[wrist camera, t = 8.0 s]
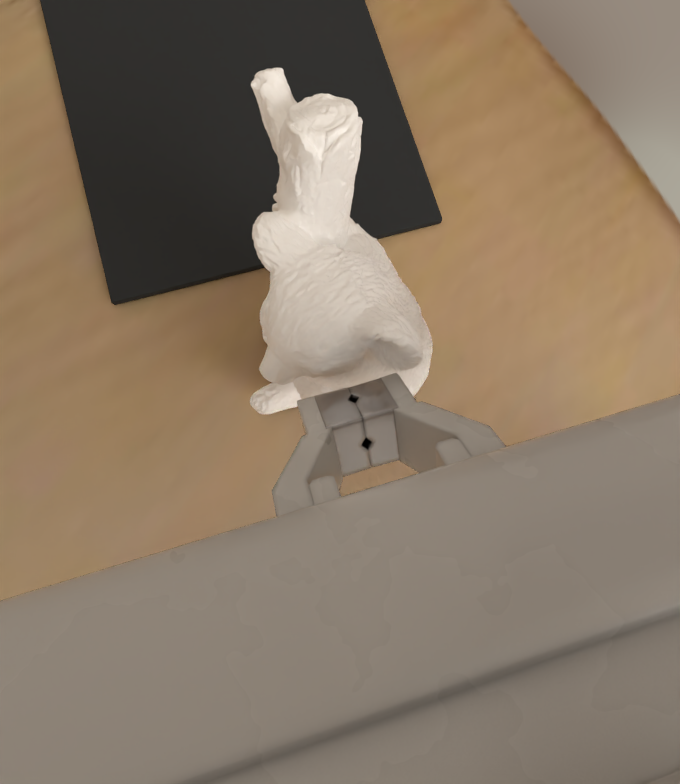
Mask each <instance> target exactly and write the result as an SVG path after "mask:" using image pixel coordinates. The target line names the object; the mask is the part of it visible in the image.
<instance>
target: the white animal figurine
mask: <svg viewBox="0 0 680 784" xmlns="http://www.w3.org/2000/svg"><path fill="white" fill-rule="evenodd" d="M254 77H255V78H254V80H253V81H252V82H251V87H252V89H253V92H254V94H255V96H256V99H257V103H258V105H259V109H260V112H261V116H262V121H263V123H264V127H265V129H266V131H267V133H268V136H269V138H270V141H271V144H272V148H273V150H274V152H275V153H276V155H277V157H278V163H279V166H280V169H279V171H280V172H279V173H280V176H279V180H278V183H277V193H275V194H274V195H273V198H274V200H275V201H276V202H277V203H275V204H273V206H272V211H273V212H263V213H261V215H259V216H258V217H257V219H256V220H255V223H254V224H253V229H252V239H253V241H254V247H255V249H256V252H257V255H258V258H259V259H260V260H261V263H262V264H263V265H264V267H265V268H266V269H267V270H268V271H270V290H269V293H268V295H267V297H266V299H265V300H264V302H263V304H262V306H261V310H260V324H261V326H262V333H263V334H262V335H263V339H264V341H265V342H266V343H267V344H268V346H267V349H266V352H265V356H264V358H263V360H262V362H261V364H260V367H259V370H260V372H261V374H262V376H263V377H264V378H265V379H267V380H268V381H270V382H272V383H271V384H269V385H267V386H264V387H262V388H261V389H259V390H258V391H256V392H254V393H253V395H252V396H251V398H250V404H251V406H252V407H253V408H254V409H255V410H256V411H257V412H258V413H260V414H272V413H275V412H278V411H281V410H285V409H289V408H294V407H297V406H298V405H297V401H298V400H301V399H305V398H308V397H312V396H313V397H314V396H316V395H320V394H323V393H327V392H331V391H335V390H339V389H343V388H348V387H351V386H355V385H358V384H362V383H365V382H369V381H372V380H375V379H379V378H381V377H384V376H387V375H390V374H393V373H397V374H399V376H400V377H401V379H402V380H403V382H404V383H405V385H406V386H407V388H408V389H409V391H410V392H411V394H412V395H413V396H414V395H415V394H416V393H417V392H418V391H419V389H420V387H421V386H422V385H423V383H424V381H425V379H426V378H427V376H428V374H429V372H428V371H429V370H430V368H429V366H430V359H431V357H432V352H433V349H432V346H433V343H432V338H431V334H430V333H429V332H430V331H429V328H428V327H427V325H426V322H425V320H424V319H423V316H421V308H420V306H419V305H418V302H416V300H415V296H412V295H411V291H410V290H409V289H408V288H407V286H406V285H405V284H404V283H403V282H402V280H401V278H400V277H399V276H398V273H397V271H396V270H395V268H394V267H393V264H392V263H391V260H390V259H389V258H388V257H387V254H386V252H385V249H384V248H383V247H382V246H381V245H380V243H379V242H378V241H377V239H376V238H373V237H371V236H370V235H369V234H368V233H366V232H365V231H364V229H362V228H361V227H360V225H359V224H355V222H354V221H353V220H352V219H351V218H350V211H351V205H352V199H353V193H354V181H355V175H356V172H357V167H358V162H359V159H360V152H361V133H362V124H363V121H362V118H361V117H358V111H357V107H356V106H355V105H354V103H353V102H352V101H351V100H349V99H346V98H341V97H336V96H333V95H331V94H323V93H320V94H316V95H314V96H312V97H306V98H304V99H303V100H302V101H300V102H299V103H297V102H296V101H295V99H294V98H293V95H292V93H291V90H290V87H289V85H288V83H287V80H286V78H285V75H284V70H283V69H282V68H273V69H265V70H262V71H259V72H257V73H256V74H255V76H254Z"/></svg>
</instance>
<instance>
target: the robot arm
mask: <svg viewBox="0 0 680 784" xmlns="http://www.w3.org/2000/svg"><path fill="white" fill-rule="evenodd" d="M297 405H298V409H299V413H300V417H301V420H302V424H303V428H304V432H305V435H303V436H302V437H301V439H300V441H299V442H298V444H297V446H296V448H295V450H294V451H293V453H292V455H291V457H290V459H289V460H288V462H287V464H286V466H285V468H284V469H283V471H282V473H281V475H280V477H279V478H278V480H277V482H276V484H275V486H274V487H273V489H272V495H273V500H274V505H275V511H276V516H277V517H273V518H270V519H267V520H263V521H260V522H257V523H254V524H250V525H247V526H244V527H240V528H237V529H234V530H231V531H227V532H224V533H221V534H217V535H214V536H211V537H208V538H204V539H201V540H198V541H194V542H191V543H188V544H185V545H181V546H178V547H175V548H171V549H168V550H165V551H162V552H158V553H155V554H152V555H148V556H145V557H142V558H139V559H135V560H132V561H129V562H125V563H122V564H119V565H116V566H112V567H109V568H106V569H102V570H99V571H96V572H93V573H89V574H86V575H83V576H79V577H76V578H73V579H70V580H66V581H63V582H60V583H56V584H53V585H50V586H47V587H43V588H40V589H37V590H33V591H30V592H27V593H24V594H20V595H17V596H14V597H10V598H7V599H4V600H1V601H0V784H680V394H678V395H675V396H671V397H668V398H665V399H662V400H658V401H655V402H652V403H648V404H645V405H642V406H638V407H635V408H632V409H629V410H625V411H622V412H619V413H615V414H612V415H609V416H605V417H602V418H599V419H596V420H592V421H589V422H586V423H582V424H579V425H576V426H572V427H569V428H566V429H563V430H559V431H556V432H553V433H549V434H546V435H543V436H540V437H536V438H533V439H530V440H526V441H523V442H520V443H517V444H513V445H510V446H507V447H506V446H505V445H504V443H503V442H502V441H501V440H500V438H499V437H498V436H497V435H496V433H495V432H494V431H493V430H492V428H491V427H490V426H488V425H485V424H483V423H480V422H477V421H474V420H472V419H469V418H466V417H463V416H461V415H458V414H455V413H452V412H450V411H447V410H444V409H441V408H439V407H436V406H433V405H430V404H428V403H425V402H422V401H421V402H418V403H417V401H416V400H415V398H414V397H413V395H412V394H411V392H410V391H409V389H408V388H407V386H406V385H405V383H404V382H403V380H402V379H401V377H400V376H399V374H397V373H393V374H390V375H387V376H384V377H381V378H379V379H375V380H372V381H369V382H365V383H362V384H358V385H355V386H351V387H348V388H343V389H339V390H335V391H331V392H327V393H323V394H320V395H316V396H314V397H313V396H312V397H308V398H305V399H301V400H298V401H297ZM397 460H400V461H401V462H402V463H404V464H406V465H407V466H409V467H411V468H412V469H414V470H415V471H417V472H419V473H418V474H415V475H411V476H408V477H405V478H402V479H398V480H395V481H392V482H388V483H385V484H382V485H379V486H375V487H372V488H369V489H365V490H362V491H359V492H356V493H352V494H349V495H346V496H342V497H341V495H340V492H339V490H340V487H341V484H342V481H343V477H344V476H347V475H350V474H353V473H356V472H359V471H362V470H365V469H368V468H372V467H375V466H379V465H383V464H386V463H390V462H394V461H397Z"/></svg>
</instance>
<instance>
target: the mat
mask: <svg viewBox="0 0 680 784" xmlns="http://www.w3.org/2000/svg"><path fill="white" fill-rule="evenodd" d="M40 1H41V6H42V10H43V14H44V18H45V23H46V27H47V31H48V35H49V39H50V44H51V48H52V52H53V56H54V61H55V65H56V69H57V73H58V78H59V82H60V86H61V90H62V95H63V99H64V103H65V107H66V112H67V116H68V120H69V124H70V128H71V133H72V137H73V141H74V145H75V150H76V154H77V158H78V162H79V167H80V171H81V175H82V179H83V184H84V188H85V192H86V196H87V200H88V205H89V209H90V213H91V217H92V222H93V226H94V230H95V234H96V239H97V243H98V247H99V251H100V256H101V260H102V264H103V268H104V273H105V277H106V281H107V285H108V289H109V294H110V298H111V302H112V303H113V304H114V305H117V304H121V303H125V302H128V301H132V300H136V299H140V298H144V297H148V296H152V295H156V294H160V293H164V292H168V291H172V290H176V289H180V288H184V287H188V286H192V285H196V284H200V283H204V282H208V281H212V280H216V279H220V278H224V277H228V276H232V275H236V274H240V273H244V272H248V271H252V270H256V269H260V268H264V265H263V264H262V263H261V260H260V259H259V258H258V255H257V252H256V249H255V247H254V241H253V239H252V229H253V224H254V223H255V220H256V219H257V217H258V216H259V215H261V213H263V212H273V211H272V206H273V204H275V203H277V202H276V201H275V200H274V198H273V195H274V194H275V193H277V183H278V180H279V176H280V173H279V172H280V171H279V169H280V166H279V163H278V157H277V155H276V153H275V152H274V150H273V148H272V144H271V141H270V138H269V136H268V133H267V131H266V129H265V127H264V123H263V121H262V116H261V112H260V109H259V105H258V103H257V99H256V96H255V94H254V92H253V89H252V87H251V82H252V81H253V80H254V78H255V77H254V76H255V74H256V73H257V72H259V71H262V70H265V69H273V68H282V69H283V70H284V75H285V78H286V80H287V83H288V85H289V87H290V90H291V93H292V95H293V98H294V99H295V101H296V102H297V103H299V102H300V101H302V100H303V99H304V98H306V97H312V96H314V95H316V94H320V93H323V94H331V95H333V96H336V97H341V98H346V99H349V100H351V101H352V102H353V103H354V105H355V106H356V107H357V111H358V117H361V118H362V121H363V124H362V133H361V152H360V159H359V162H358V167H357V172H356V175H355V181H354V193H353V199H352V205H351V211H350V218H351V219H352V220H353V221H354V222H355V224H359V225H360V227H361V228H362V229H364V231H365V232H366V233H368V234H369V235H370V236H371V237H373V238H376V239H379V238H383V237H387V236H391V235H395V234H399V233H403V232H407V231H411V230H415V229H419V228H423V227H427V226H431V225H435V224H439V223H441V221H442V217H441V214H440V211H439V208H438V206H437V203H436V200H435V197H434V194H433V191H432V189H431V186H430V183H429V180H428V177H427V175H426V172H425V169H424V166H423V163H422V161H421V158H420V155H419V152H418V149H417V146H416V144H415V141H414V138H413V135H412V132H411V130H410V127H409V124H408V121H407V118H406V116H405V113H404V110H403V107H402V104H401V101H400V99H399V96H398V93H397V90H396V87H395V85H394V82H393V79H392V76H391V73H390V71H389V68H388V65H387V62H386V59H385V56H384V54H383V51H382V48H381V45H380V42H379V40H378V37H377V34H376V31H375V28H374V25H373V23H372V20H371V17H370V14H369V11H368V9H367V6H366V3H365V0H40Z"/></svg>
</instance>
